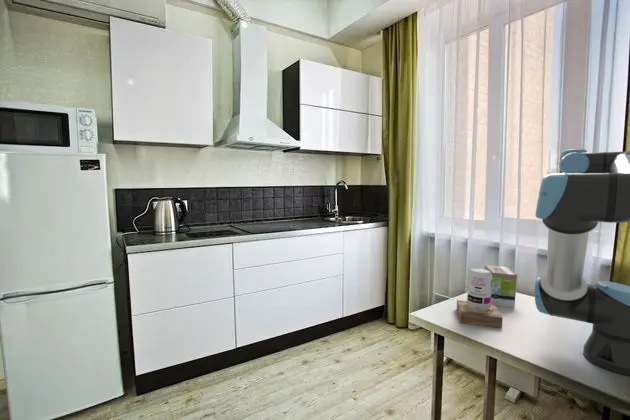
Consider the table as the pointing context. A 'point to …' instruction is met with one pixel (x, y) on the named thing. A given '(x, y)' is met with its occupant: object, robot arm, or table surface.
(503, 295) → the tea box
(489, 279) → the supplement can
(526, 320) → the table surface
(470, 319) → the walnut base
